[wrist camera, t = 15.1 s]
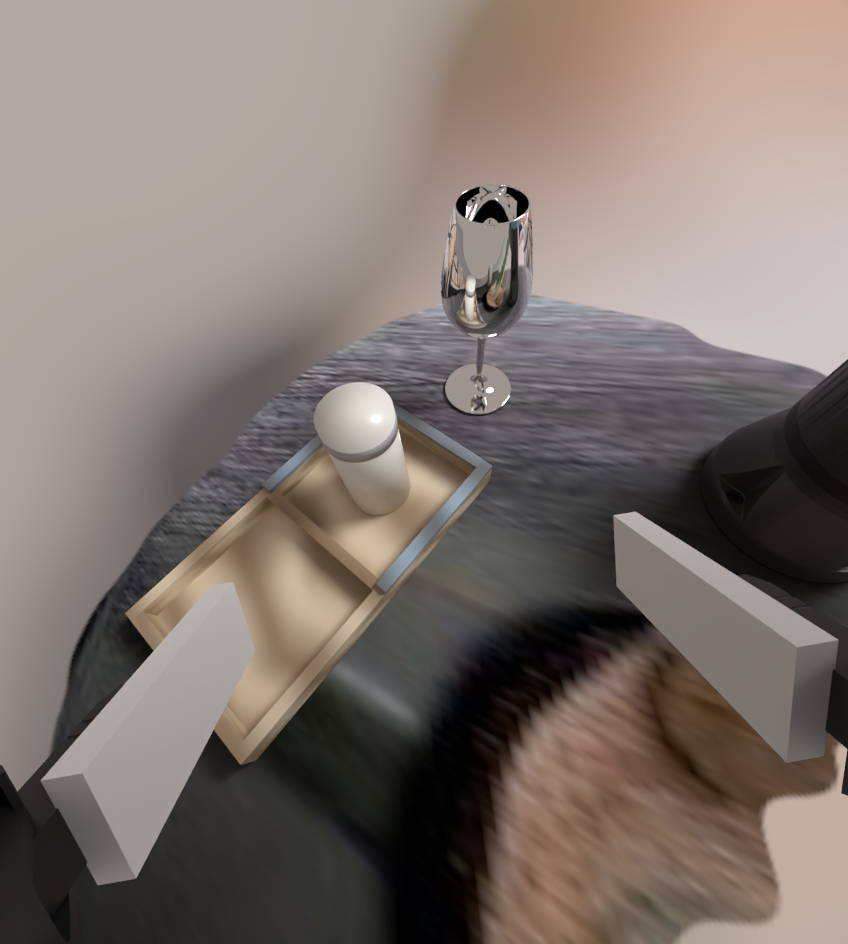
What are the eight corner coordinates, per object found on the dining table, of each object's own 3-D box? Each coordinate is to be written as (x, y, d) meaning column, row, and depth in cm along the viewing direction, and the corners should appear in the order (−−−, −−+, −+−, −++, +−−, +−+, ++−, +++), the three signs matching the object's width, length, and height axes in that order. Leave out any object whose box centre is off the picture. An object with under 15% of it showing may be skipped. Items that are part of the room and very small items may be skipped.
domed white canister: (378, 451, 42) (352, 370, 32) (423, 482, 40) (411, 405, 30) (337, 493, 40) (296, 420, 30) (382, 527, 38) (354, 462, 28)
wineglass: (438, 411, 45) (428, 231, 28) (450, 361, 49) (448, 174, 32) (508, 420, 44) (544, 237, 27) (515, 367, 48) (550, 177, 30)
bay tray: (374, 405, 46) (369, 387, 44) (490, 480, 40) (492, 465, 38) (144, 618, 36) (120, 611, 33) (256, 761, 30) (237, 766, 27)
